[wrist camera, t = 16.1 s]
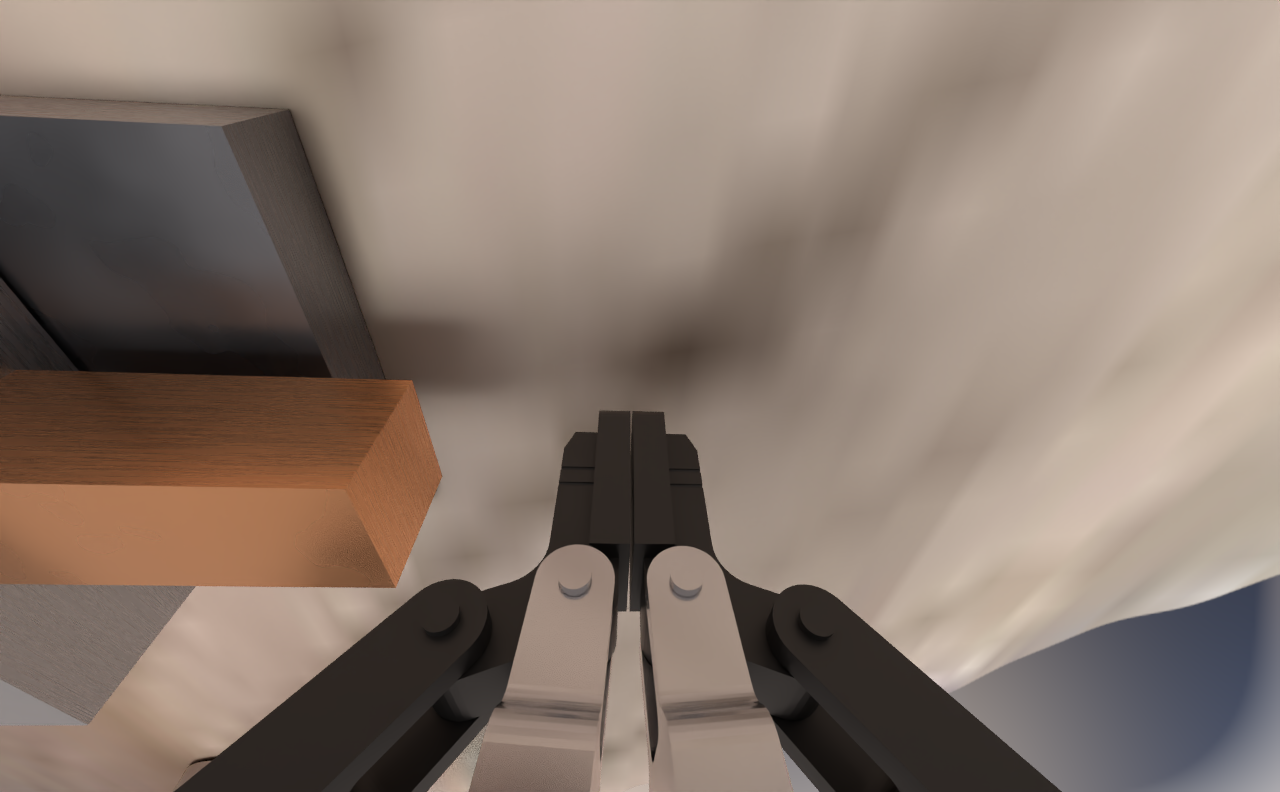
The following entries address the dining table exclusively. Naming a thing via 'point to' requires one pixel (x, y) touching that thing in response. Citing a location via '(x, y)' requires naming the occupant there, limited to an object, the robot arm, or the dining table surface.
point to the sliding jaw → (180, 504)
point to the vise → (174, 241)
